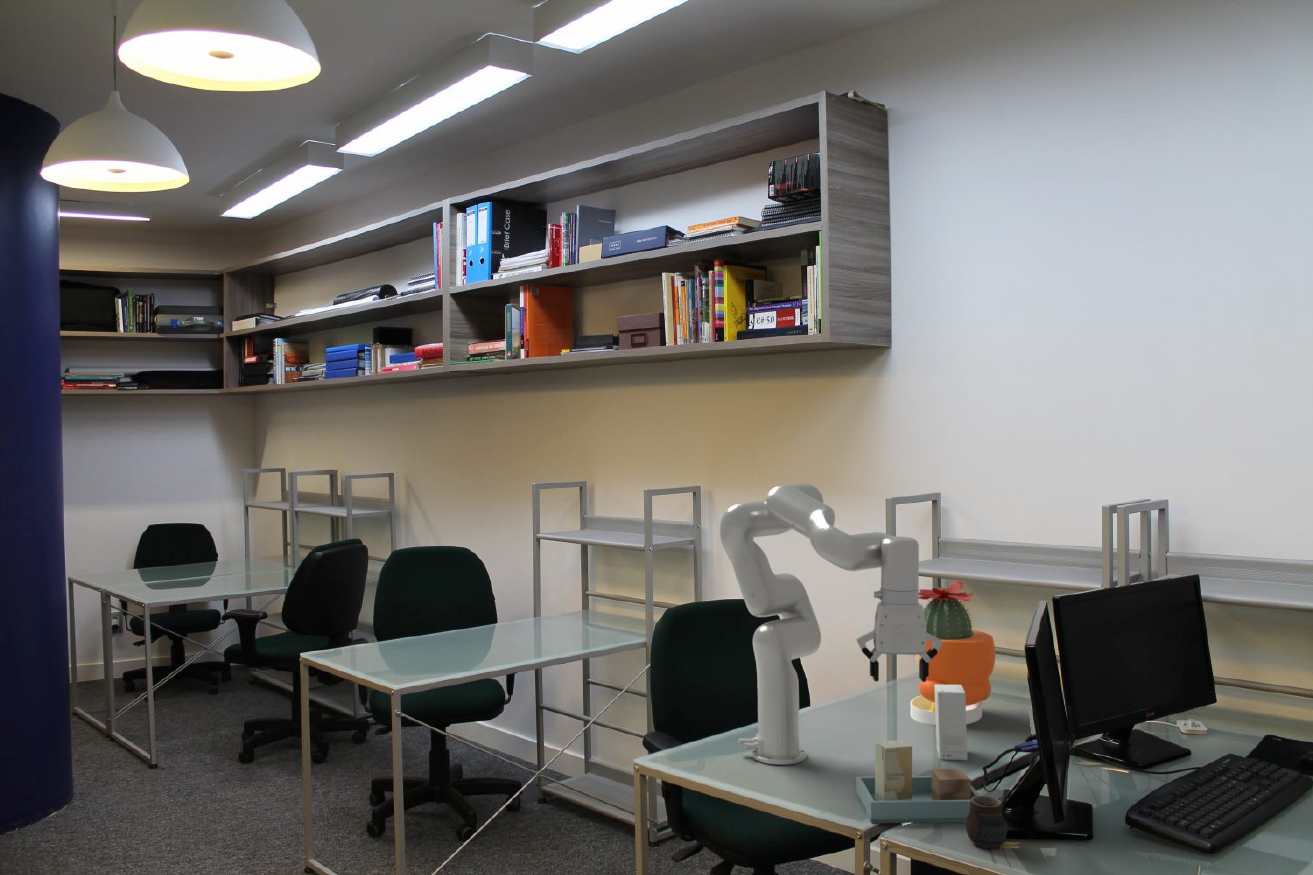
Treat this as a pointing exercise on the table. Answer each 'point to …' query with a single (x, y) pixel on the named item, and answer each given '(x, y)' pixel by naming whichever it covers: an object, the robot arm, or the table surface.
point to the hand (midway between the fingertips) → (899, 679)
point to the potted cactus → (954, 654)
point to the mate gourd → (986, 822)
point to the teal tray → (911, 804)
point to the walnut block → (950, 785)
